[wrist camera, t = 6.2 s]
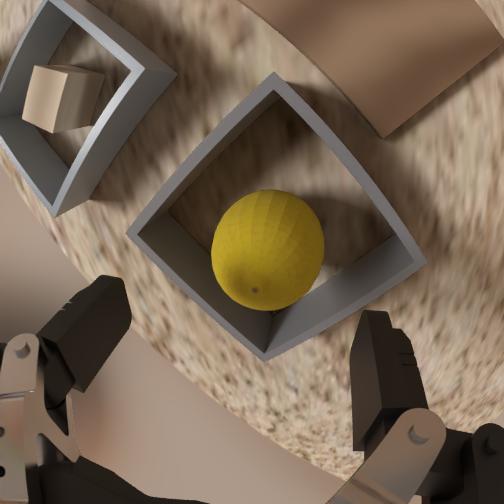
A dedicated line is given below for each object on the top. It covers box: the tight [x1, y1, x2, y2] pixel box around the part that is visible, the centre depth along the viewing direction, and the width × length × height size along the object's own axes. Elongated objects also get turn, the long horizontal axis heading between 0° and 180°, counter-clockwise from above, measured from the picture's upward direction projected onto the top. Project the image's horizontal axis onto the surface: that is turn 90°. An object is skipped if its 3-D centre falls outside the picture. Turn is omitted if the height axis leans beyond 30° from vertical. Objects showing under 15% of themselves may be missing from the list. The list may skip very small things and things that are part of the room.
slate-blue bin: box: [0, 0, 178, 218], centre depth 15 cm, size 12×12×4 cm
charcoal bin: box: [125, 72, 428, 362], centre depth 17 cm, size 12×12×4 cm
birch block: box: [22, 65, 105, 134], centre depth 15 cm, size 4×4×4 cm
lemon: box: [211, 190, 325, 311], centre depth 15 cm, size 6×6×8 cm
